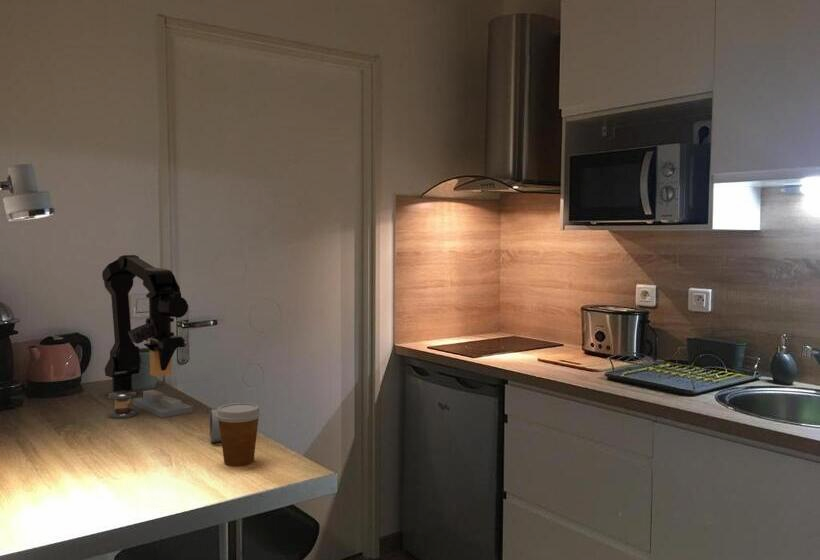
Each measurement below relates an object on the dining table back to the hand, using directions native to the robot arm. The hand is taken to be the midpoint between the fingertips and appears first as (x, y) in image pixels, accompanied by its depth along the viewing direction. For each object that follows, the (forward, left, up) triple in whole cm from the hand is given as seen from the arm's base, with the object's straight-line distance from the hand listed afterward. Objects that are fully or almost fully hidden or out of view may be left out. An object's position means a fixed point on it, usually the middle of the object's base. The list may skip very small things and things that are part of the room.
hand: (161, 369), depth 198 cm
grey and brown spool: (0, -11, -11) cm, 16 cm away
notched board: (0, 0, -11) cm, 11 cm away
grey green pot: (-31, +7, -11) cm, 34 cm away
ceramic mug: (+39, -1, -12) cm, 40 cm away
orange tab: (0, 0, -2) cm, 2 cm away
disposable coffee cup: (+56, -7, -11) cm, 58 cm away
